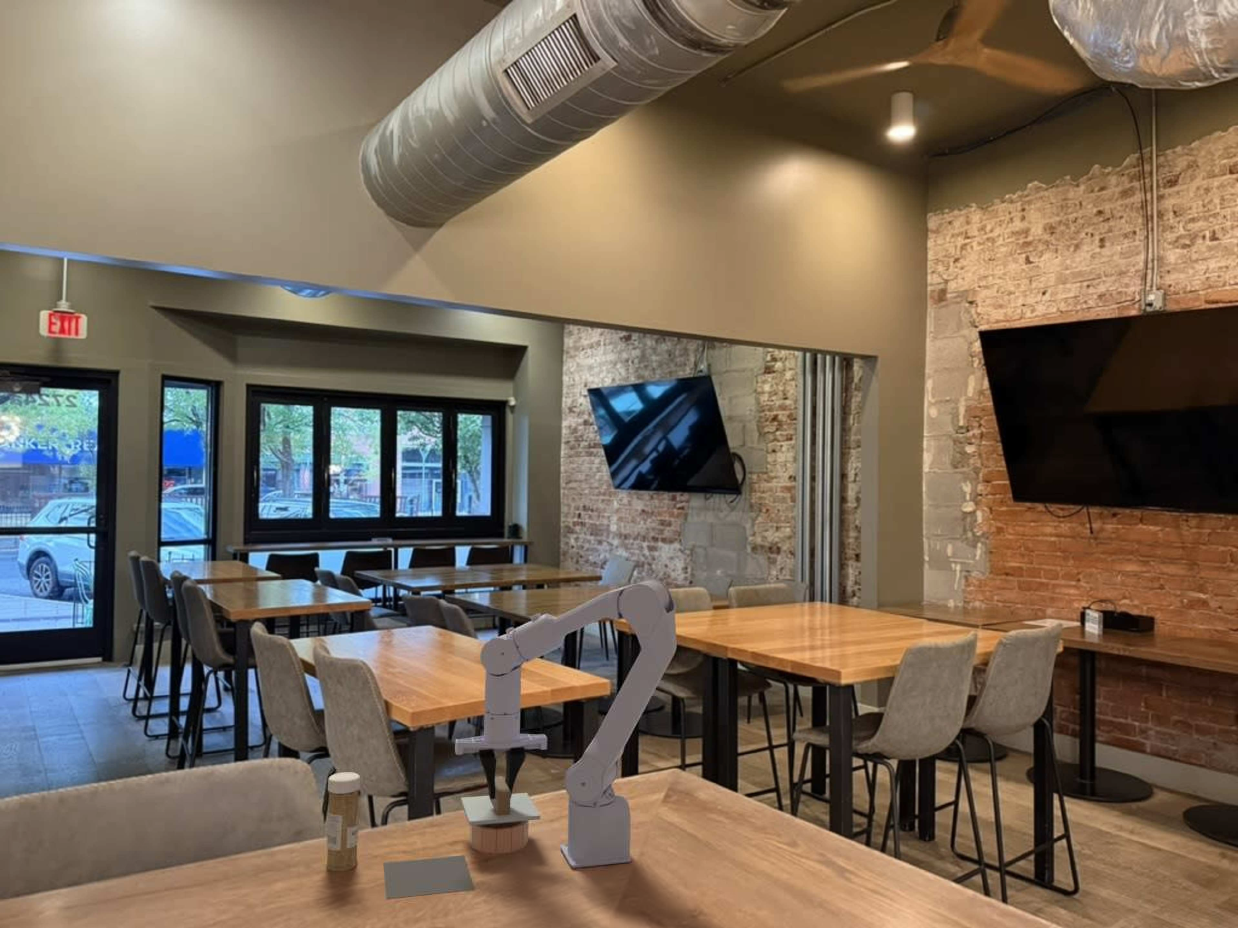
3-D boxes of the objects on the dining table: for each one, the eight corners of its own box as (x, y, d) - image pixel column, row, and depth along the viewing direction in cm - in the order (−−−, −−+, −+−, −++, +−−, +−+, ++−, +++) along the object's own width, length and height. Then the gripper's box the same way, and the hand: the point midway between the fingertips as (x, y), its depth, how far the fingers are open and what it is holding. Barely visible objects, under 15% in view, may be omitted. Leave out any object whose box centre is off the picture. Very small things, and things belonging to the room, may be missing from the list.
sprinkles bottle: (361, 869, 131) (364, 777, 131) (330, 876, 128) (333, 782, 129) (352, 858, 135) (354, 769, 135) (321, 864, 132) (324, 773, 132)
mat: (464, 857, 136) (464, 854, 136) (474, 891, 124) (474, 889, 124) (383, 865, 132) (383, 862, 132) (386, 901, 121) (386, 898, 121)
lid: (526, 796, 148) (527, 771, 148) (540, 819, 138) (540, 792, 138) (460, 801, 145) (461, 775, 145) (469, 825, 135) (470, 797, 135)
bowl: (521, 830, 147) (522, 806, 147) (532, 852, 138) (532, 826, 138) (467, 835, 144) (467, 811, 144) (474, 857, 136) (475, 831, 136)
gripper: (541, 702, 148) (539, 784, 147) (454, 706, 144) (451, 791, 143) (550, 713, 141) (548, 799, 141) (459, 717, 137) (456, 806, 136)
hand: (500, 796), depth 141 cm, fingers closed on lid, 2 cm apart
